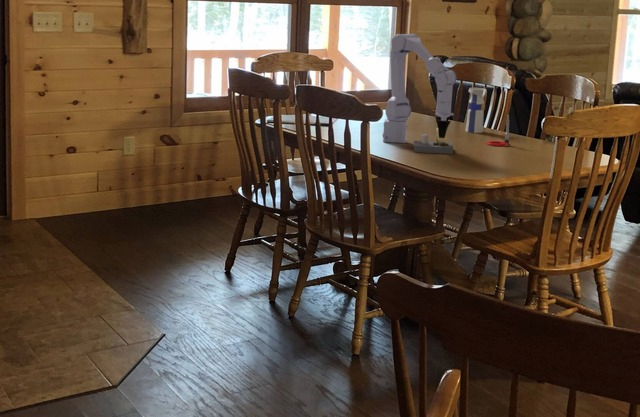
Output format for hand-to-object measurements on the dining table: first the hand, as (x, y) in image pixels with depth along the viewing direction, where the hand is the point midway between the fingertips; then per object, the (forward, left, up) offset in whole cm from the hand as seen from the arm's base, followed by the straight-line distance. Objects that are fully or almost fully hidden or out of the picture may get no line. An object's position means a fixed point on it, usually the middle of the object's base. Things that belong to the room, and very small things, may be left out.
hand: (441, 136), depth 342 cm
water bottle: (+18, +52, -6) cm, 55 cm away
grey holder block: (-3, 0, -6) cm, 6 cm away
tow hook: (+25, +21, -6) cm, 33 cm away
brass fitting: (0, 0, -6) cm, 6 cm away
